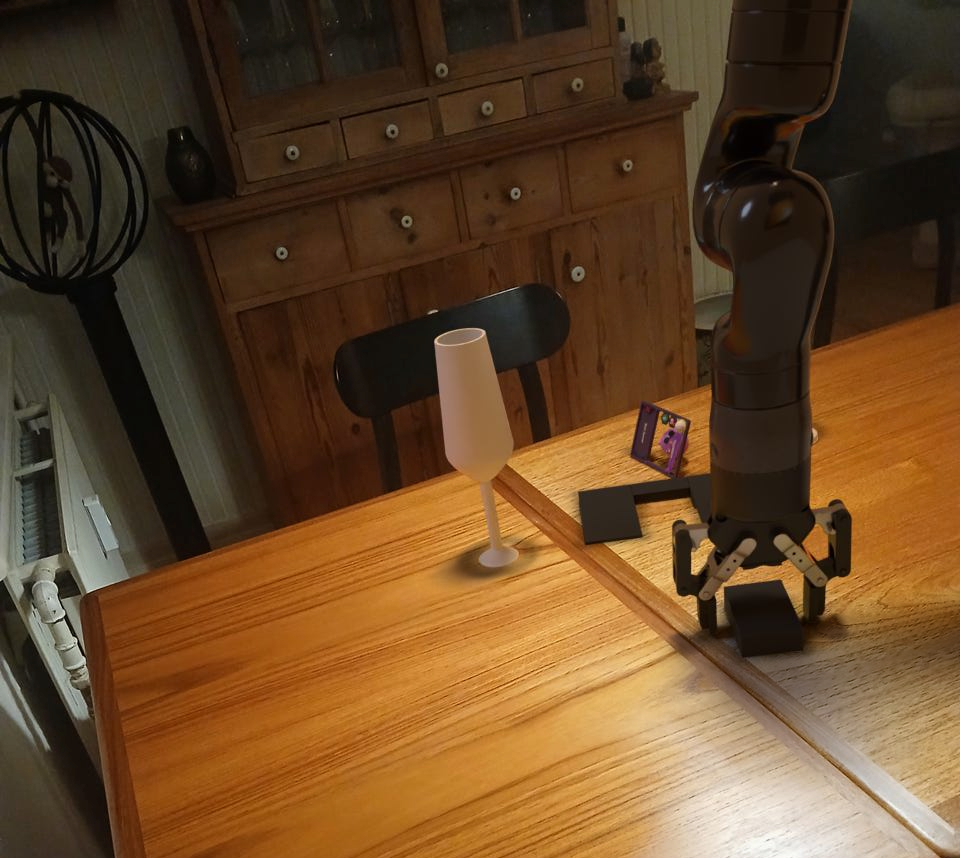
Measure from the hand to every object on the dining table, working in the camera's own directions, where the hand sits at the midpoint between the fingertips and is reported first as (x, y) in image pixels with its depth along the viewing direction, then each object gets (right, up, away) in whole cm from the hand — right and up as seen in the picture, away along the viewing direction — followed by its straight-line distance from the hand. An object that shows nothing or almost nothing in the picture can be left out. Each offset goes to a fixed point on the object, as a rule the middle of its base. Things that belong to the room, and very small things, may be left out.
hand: (759, 623), depth 84 cm
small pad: (0, -1, +1) cm, 1 cm away
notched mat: (-4, +12, +21) cm, 25 cm away
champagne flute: (-22, +6, +19) cm, 29 cm away
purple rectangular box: (-2, +20, +32) cm, 38 cm away
